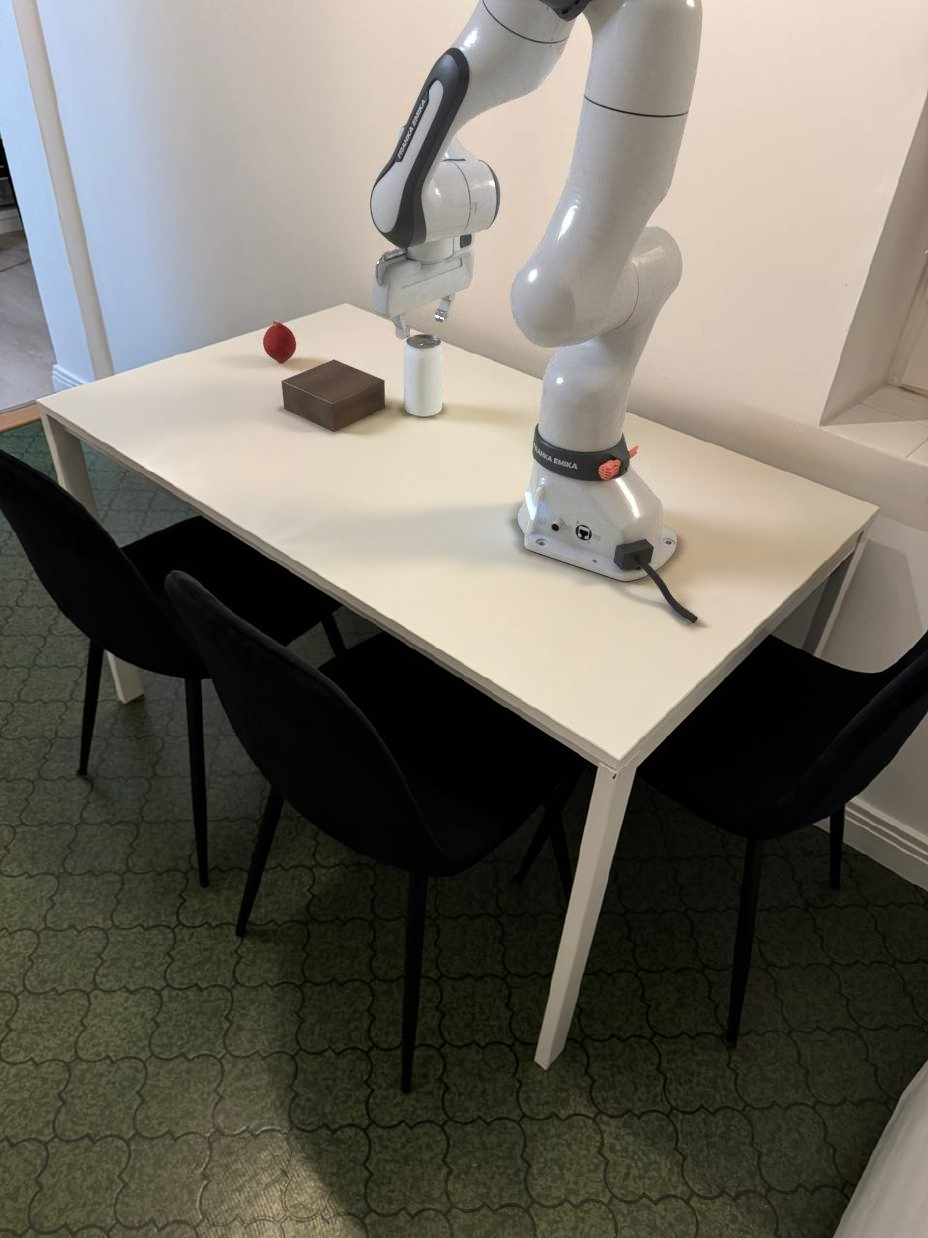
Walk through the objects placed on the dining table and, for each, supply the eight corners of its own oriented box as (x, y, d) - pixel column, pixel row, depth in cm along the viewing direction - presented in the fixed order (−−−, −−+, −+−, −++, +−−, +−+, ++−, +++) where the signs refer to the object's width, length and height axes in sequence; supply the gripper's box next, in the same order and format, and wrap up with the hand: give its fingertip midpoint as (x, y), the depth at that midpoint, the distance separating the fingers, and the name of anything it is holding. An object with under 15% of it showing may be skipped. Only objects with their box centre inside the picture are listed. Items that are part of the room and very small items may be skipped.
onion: (287, 353, 169) (283, 311, 164) (303, 364, 165) (300, 321, 160) (259, 361, 166) (254, 318, 161) (275, 372, 162) (271, 328, 157)
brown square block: (385, 407, 153) (384, 379, 150) (334, 432, 146) (332, 403, 143) (335, 386, 159) (333, 358, 156) (283, 408, 152) (281, 380, 148)
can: (399, 402, 155) (399, 334, 147) (436, 398, 157) (437, 331, 149) (409, 419, 150) (409, 350, 143) (446, 415, 152) (448, 347, 144)
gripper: (392, 260, 128) (392, 353, 137) (482, 230, 140) (477, 317, 149) (360, 249, 131) (362, 341, 140) (451, 220, 143) (448, 306, 152)
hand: (422, 328), depth 145 cm, fingers open, 8 cm apart
